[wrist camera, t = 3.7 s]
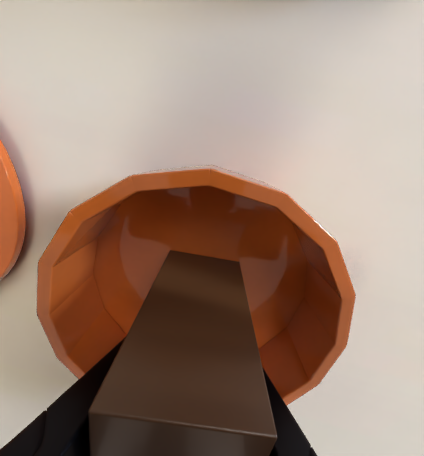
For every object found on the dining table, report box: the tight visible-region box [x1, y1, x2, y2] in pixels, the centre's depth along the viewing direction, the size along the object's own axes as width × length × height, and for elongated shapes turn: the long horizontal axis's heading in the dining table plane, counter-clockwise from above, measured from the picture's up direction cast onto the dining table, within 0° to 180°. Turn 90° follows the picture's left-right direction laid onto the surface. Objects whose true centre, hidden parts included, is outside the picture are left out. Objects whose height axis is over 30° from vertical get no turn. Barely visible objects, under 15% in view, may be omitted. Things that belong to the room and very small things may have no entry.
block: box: [88, 250, 277, 456], centre depth 9 cm, size 4×4×8 cm
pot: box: [37, 165, 356, 406], centre depth 11 cm, size 14×14×4 cm
